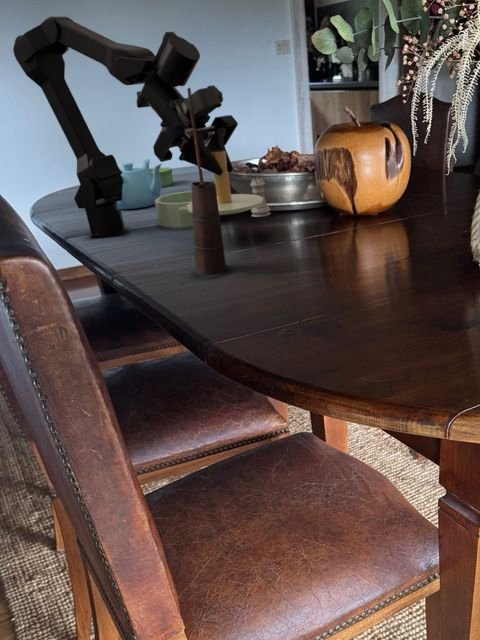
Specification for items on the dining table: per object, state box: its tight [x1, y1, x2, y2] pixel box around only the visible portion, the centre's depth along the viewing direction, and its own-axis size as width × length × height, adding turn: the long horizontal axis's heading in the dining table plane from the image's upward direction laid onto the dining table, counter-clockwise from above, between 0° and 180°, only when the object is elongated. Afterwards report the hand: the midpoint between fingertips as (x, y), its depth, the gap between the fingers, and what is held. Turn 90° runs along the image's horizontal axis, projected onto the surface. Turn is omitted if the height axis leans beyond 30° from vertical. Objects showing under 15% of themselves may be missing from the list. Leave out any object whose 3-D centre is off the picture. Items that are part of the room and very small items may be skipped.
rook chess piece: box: [249, 178, 272, 218], centre depth 143 cm, size 4×4×8 cm
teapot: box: [116, 158, 163, 210], centre depth 165 cm, size 15×15×10 cm
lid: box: [187, 150, 264, 216], centre depth 120 cm, size 15×15×10 cm
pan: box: [154, 190, 217, 228], centre depth 144 cm, size 14×19×6 cm
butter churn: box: [186, 87, 227, 276], centre depth 102 cm, size 9×10×28 cm
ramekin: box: [149, 166, 174, 188], centre depth 191 cm, size 9×9×4 cm
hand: (226, 172), depth 119 cm, fingers closed on lid, 2 cm apart
